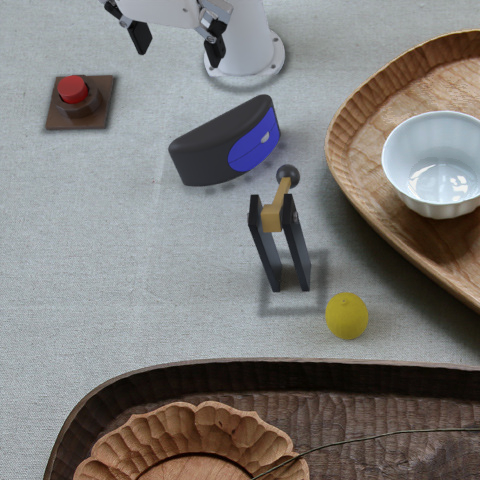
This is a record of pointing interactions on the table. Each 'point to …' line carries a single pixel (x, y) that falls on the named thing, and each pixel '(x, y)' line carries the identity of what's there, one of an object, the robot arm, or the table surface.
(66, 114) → the button base
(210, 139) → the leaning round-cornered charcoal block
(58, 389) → the table surface
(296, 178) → the switch lever
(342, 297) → the lemon
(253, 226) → the bracket
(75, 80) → the button
